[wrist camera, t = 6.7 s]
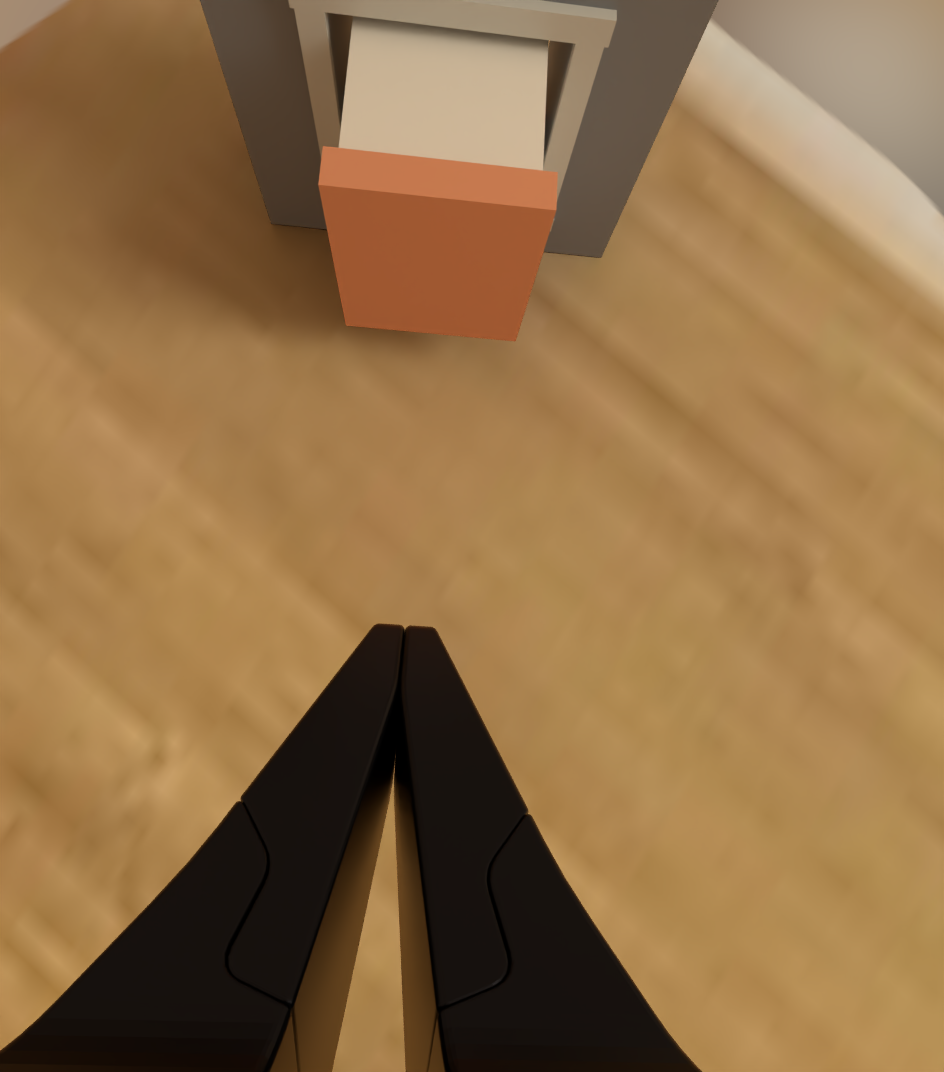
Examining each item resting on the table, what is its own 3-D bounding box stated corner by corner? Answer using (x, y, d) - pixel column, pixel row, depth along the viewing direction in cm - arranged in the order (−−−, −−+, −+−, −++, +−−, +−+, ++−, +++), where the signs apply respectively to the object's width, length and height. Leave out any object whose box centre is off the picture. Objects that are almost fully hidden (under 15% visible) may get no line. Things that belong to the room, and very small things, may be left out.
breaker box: (600, 264, 25) (719, 8, 15) (270, 230, 24) (173, -63, 15) (603, 163, 26) (717, -142, 16) (283, 126, 25) (201, -218, 15)
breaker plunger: (515, 341, 22) (556, 210, 16) (346, 325, 22) (318, 184, 15) (528, 77, 24) (568, -134, 18) (373, 58, 24) (358, -164, 17)
